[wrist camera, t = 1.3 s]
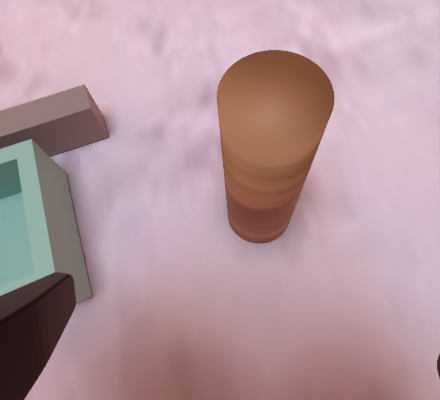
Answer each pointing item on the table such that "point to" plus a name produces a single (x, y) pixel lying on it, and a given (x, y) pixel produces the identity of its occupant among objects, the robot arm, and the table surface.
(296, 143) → the dowel
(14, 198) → the socket block
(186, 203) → the table surface
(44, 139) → the backstop wall
